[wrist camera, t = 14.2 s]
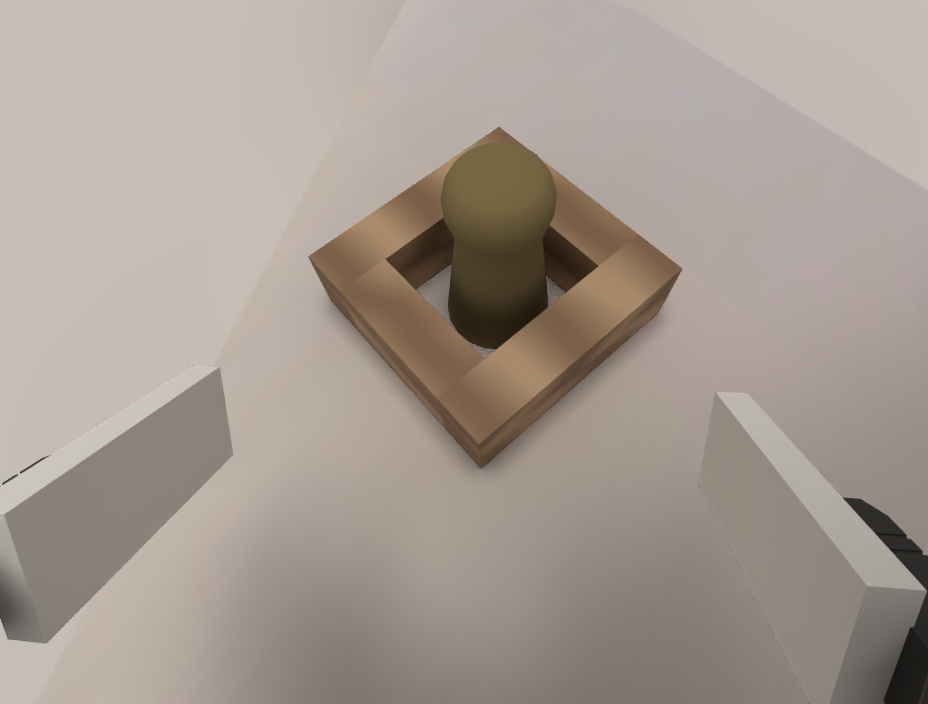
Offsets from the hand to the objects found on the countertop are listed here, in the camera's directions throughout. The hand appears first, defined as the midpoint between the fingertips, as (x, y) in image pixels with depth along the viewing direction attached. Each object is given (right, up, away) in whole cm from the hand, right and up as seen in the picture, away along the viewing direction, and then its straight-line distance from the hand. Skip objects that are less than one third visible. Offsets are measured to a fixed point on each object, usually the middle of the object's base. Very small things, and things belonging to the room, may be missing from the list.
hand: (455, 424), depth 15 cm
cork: (+2, +5, +19) cm, 19 cm away
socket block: (+2, +5, +18) cm, 19 cm away
